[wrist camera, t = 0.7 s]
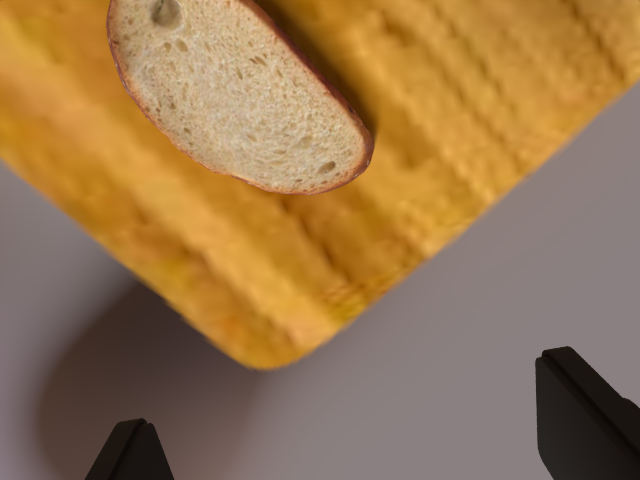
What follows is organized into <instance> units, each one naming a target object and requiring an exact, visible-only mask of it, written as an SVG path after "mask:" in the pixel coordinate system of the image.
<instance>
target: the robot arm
mask: <svg viewBox="0 0 640 480" xmlns="http://www.w3.org/2000/svg"><path fill="white" fill-rule="evenodd" d="M535 367H536V404H537V438H538V439H537V441H538V450H539V454H540V457H541V459H542V461H543V463H544V465H545V466H546V468H547V470H548V471H549V472H550V474H551V476H552V477H553V479H554V480H640V408H639V407H638V406H637V405H636V404H634V403H633V402H632V401H630V400H629V399H626V398H622V397H621V396H620V395H619V394H618V393H617V392H616V391H615V390H614V389H613V388H612V387H611V386H610V385H609V384H608V383H607V382H606V381H605V380H604V379H603V378H602V377H601V376H600V375H599V374H598V373H597V372H596V371H595V370H594V369H593V368H592V367H591V366H590V365H589V364H588V363H587V362H586V361H585V360H584V359H583V358H581V356H580V355H579V354H578V353H576V351H575V350H574V349H572V348H571V347H568V346H566V347H560V348H554V349H548V350H544V351H543V352H542V357H539V358H537V359H536V362H535ZM85 480H174V478H173V475H172V472H171V470H170V467H169V464H168V462H167V459H166V456H165V454H164V451H163V448H162V446H161V443H160V440H159V438H158V435H157V432H156V430H155V427H154V426H153V424H151V423H147V422H146V420H145V419H143V418H140V419H134V420H128V421H122V422H119V423H117V424H116V426H115V427H114V429H113V431H112V432H111V434H110V436H109V438H108V439H107V441H106V443H105V445H104V446H103V448H102V450H101V452H100V453H99V455H98V457H97V459H96V461H95V462H94V464H93V466H92V468H91V469H90V471H89V473H88V475H87V476H86V478H85Z"/></svg>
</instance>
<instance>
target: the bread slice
mask: <svg viewBox="0 0 640 480" xmlns="http://www.w3.org/2000/svg"><path fill="white" fill-rule="evenodd" d="M106 27H107V35H108V41H109V46H110V50H111V53H112V56H113V59H114V62H115V65H116V68H117V71H118V74H119V76H120V79H121V81H122V83H123V86H124V88H125V89H126V91H127V93H128V94H129V95H130V96H131V98H132V99H133V100H134V101H135V102H136V103H137V105H138V106H139V108H140V109H141V111H142V112H143V113H144V114H145V116H146V117H147V118H148V119H149V120H150V121H151V122H152V123H153V124H154V125H155V126H156V127H157V128H158V129H159V130H160V131H161V132H162V133H164V134H165V135H166V136H167V137H168V138H169V139H170V141H171V142H172V143H173V144H174V145H175V146H176V147H177V148H178V149H179V150H181V151H182V152H183V153H185V154H186V155H188V156H189V157H190V158H192V159H193V160H195V161H196V162H197V163H199V164H201V165H203V166H204V167H206V168H207V169H209V170H210V171H212V172H215V173H218V174H223V175H230V176H232V177H233V178H235V179H238V180H241V181H244V182H246V183H249V184H251V185H253V186H257V187H259V188H261V189H263V190H266V191H270V192H277V193H282V194H297V195H314V194H320V193H324V192H328V191H331V190H333V189H336V188H339V187H341V186H343V185H345V184H347V183H349V182H351V181H353V180H354V179H355V178H356V177H358V176H359V175H360V174H362V173H363V172H364V171H365V170H366V169H367V167H368V165H369V164H370V161H371V158H372V154H373V150H374V142H373V139H372V137H371V135H370V132H369V131H368V130H367V128H366V127H365V126H364V124H363V123H362V121H361V119H360V118H359V116H358V115H357V113H356V112H355V110H354V109H353V108H352V106H351V105H350V104H349V102H348V101H347V100H346V99H345V98H344V97H343V95H342V94H341V93H340V92H339V91H338V90H337V88H336V87H335V86H334V85H333V84H332V83H331V82H330V81H329V80H328V79H327V78H326V77H325V76H324V75H323V74H322V73H321V72H320V71H319V70H318V69H317V67H316V66H315V65H314V64H313V63H312V62H311V60H310V59H309V58H308V57H307V56H306V55H305V54H304V53H303V52H302V51H301V49H300V48H299V47H298V46H297V45H296V44H295V43H294V42H293V41H292V39H291V38H290V37H289V36H288V35H287V34H286V32H285V31H284V30H283V29H282V28H281V27H280V26H279V25H278V24H277V23H276V22H275V21H274V20H273V19H272V18H271V17H270V16H269V15H268V14H267V13H266V12H265V11H264V10H263V9H262V8H261V7H259V6H258V5H257V4H256V3H255V2H254V1H253V0H111V2H110V6H109V10H108V15H107V21H106Z"/></svg>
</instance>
